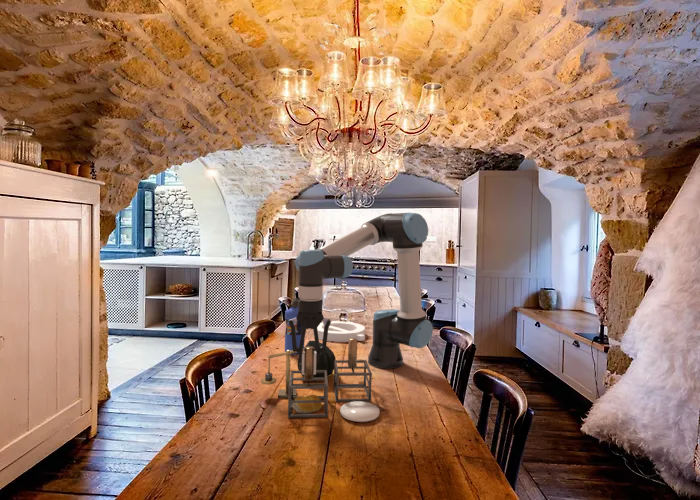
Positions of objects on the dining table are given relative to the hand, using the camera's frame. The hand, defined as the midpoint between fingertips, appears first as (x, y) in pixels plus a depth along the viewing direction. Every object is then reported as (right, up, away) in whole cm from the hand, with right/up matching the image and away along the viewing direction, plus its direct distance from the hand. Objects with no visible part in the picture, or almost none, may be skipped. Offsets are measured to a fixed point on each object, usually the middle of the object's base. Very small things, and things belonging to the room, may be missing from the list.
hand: (308, 372), depth 123 cm
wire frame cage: (0, -11, 0) cm, 11 cm away
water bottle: (-13, -9, +58) cm, 60 cm away
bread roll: (-1, -12, 0) cm, 12 cm away
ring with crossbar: (+7, -9, +91) cm, 92 cm away
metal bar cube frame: (+13, -11, +13) cm, 22 cm away
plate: (+16, -12, -3) cm, 20 cm away
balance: (-8, -11, +10) cm, 17 cm away
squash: (0, -10, +27) cm, 29 cm away
